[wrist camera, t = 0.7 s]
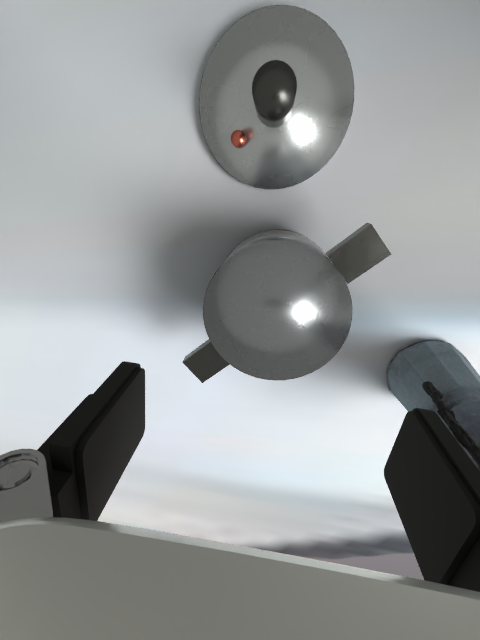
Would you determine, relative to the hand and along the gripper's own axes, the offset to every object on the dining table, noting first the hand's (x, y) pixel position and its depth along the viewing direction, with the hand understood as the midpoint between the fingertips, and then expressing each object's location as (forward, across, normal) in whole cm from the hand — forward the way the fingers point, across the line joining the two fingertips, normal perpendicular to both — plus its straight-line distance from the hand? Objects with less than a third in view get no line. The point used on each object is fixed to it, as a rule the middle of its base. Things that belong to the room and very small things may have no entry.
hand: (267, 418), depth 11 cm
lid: (+26, +2, -15) cm, 30 cm away
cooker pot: (+26, -1, +2) cm, 26 cm away
